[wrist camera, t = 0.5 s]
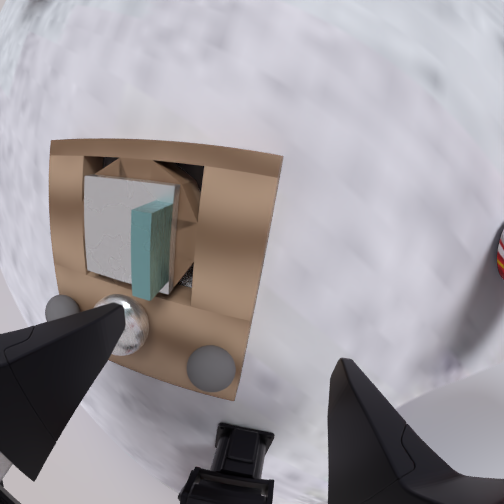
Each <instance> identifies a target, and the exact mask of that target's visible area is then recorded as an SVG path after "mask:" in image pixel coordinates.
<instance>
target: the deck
mask: <svg viewBox="0 0 504 504" xmlns="http://www.w3.org/2000/svg"><path fill="white" fill-rule="evenodd" d="M104 157H118V159H117V160H115V161H114V162H112V163H111V164H109V165H108V166H106V167H105V168H103V159H104ZM282 161H283V156H280V155H275V154H269V153H263V152H257V151H251V150H244V149H238V148H230V147H223V146H215V145H206V144H197V143H186V142H175V141H161V140H143V139H64V140H51V145H50V161H49V214H50V230H51V241H52V250H53V258H54V266H55V272H56V279H57V284H58V290H59V295H67V296H69V297H71V298H72V299H73V300H74V301H75V302H76V303H77V305H78V306H79V309H80V312H82V311H86V310H89V309H92V308H94V306H95V305H96V304H97V303H98V301H99V300H101V299H102V298H104V297H106V296H108V295H111V294H124V295H127V296H130V297H132V298H133V299H135V300H136V301H138V302H139V303H140V304H141V306H142V307H143V308H144V310H145V312H146V314H147V317H148V321H149V333H148V337H147V339H146V341H145V343H144V344H143V346H142V347H141V348H140V349H139V350H137V351H136V352H134V353H132V354H129V355H125V356H118V355H113V354H111V356H110V357H109V359H108V360H110V361H112V362H114V363H117V364H119V365H121V366H124V367H126V368H129V369H131V370H134V371H136V372H139V373H142V374H144V375H147V376H150V377H152V378H155V379H158V380H161V381H164V382H167V383H170V384H173V385H176V386H179V387H182V388H186V389H189V390H192V391H196V392H199V393H203V394H207V395H210V396H214V397H218V398H222V399H226V400H230V401H234V400H235V396H236V392H237V389H238V385H239V381H240V376H241V371H242V367H243V362H244V357H245V352H246V347H247V343H248V338H249V333H250V328H251V323H252V318H253V313H254V308H255V303H256V298H257V293H258V288H259V283H260V278H261V273H262V268H263V263H264V258H265V252H266V247H267V242H268V237H269V231H270V226H271V221H272V216H273V210H274V205H275V200H276V194H277V189H278V183H279V178H280V172H281V167H282ZM174 162H176V163H185V164H193V165H201V166H204V174H203V181H202V189H201V192H200V189H199V187H198V184H197V182H196V180H195V179H194V178H193V177H191V176H190V175H189V174H188V173H186V172H185V171H184V170H183V169H181V168H180V167H179V166H178V165H177V164H175V163H174ZM91 174H94V175H104V176H114V177H124V178H133V179H141V180H150V181H157V182H165V183H172V184H179V185H180V192H179V202H178V213H177V226H176V240H175V256H174V278H173V290H172V291H171V292H170V293H169V295H168V294H164V293H161V292H158V293H157V294H156V296H155V297H154V298H153V299H152V300H151V301H148V300H145V299H141V298H138V297H135V296H132V284H130V283H126V282H123V281H120V280H116V279H113V278H110V277H107V276H104V275H101V274H98V273H95V272H91V271H88V270H87V259H86V246H85V227H84V180H85V176H86V175H91ZM193 264H194V268H193V281H192V288H190V287H186V286H182V285H179V284H177V283H178V282H179V281H180V280H181V279H182V277H183V276H184V275H185V274H186V273H187V272H188V270H189V269H190V268H191V267H192V265H193ZM207 345H214V346H218V347H221V348H223V349H224V350H226V351H227V352H228V353H229V354H230V355H231V356H232V358H233V360H234V362H235V367H236V372H235V377H234V379H233V381H232V383H231V384H230V385H229V386H228V387H227V388H225V389H224V390H221V391H218V392H205V391H202V390H200V389H198V388H197V387H196V386H194V385H193V384H192V382H191V381H190V379H189V377H188V375H187V362H188V359H189V357H190V355H191V354H192V353H193V352H194V351H195V350H196V349H198V348H200V347H202V346H207Z"/></svg>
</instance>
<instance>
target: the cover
mask: <svg viewBox="0 0 504 504" xmlns="http://www.w3.org/2000/svg"><path fill="white" fill-rule="evenodd" d="M179 192H180V185H179V184H172V183H165V182H157V181H150V180H141V179H133V178H124V177H114V176H104V175H94V174H91V175H86V176H85V180H84V227H85V246H86V259H87V270H88V271H91V272H95V273H98V274H101V275H104V276H107V277H110V278H113V279H116V280H120V281H123V282H126V283H130V284H132V296H135V297H138V298H141V299H145V300H148V301H151V300H152V299H153V298H154V297H155V296H156V294H157V293H158V292H161V293H164V294H168V295H169V293H170V292H171V291H172V290H173V278H174V256H175V240H176V226H177V213H178V202H179Z"/></svg>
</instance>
